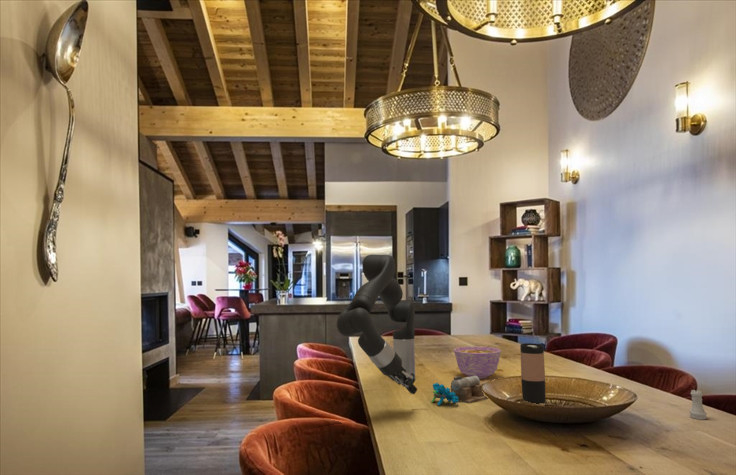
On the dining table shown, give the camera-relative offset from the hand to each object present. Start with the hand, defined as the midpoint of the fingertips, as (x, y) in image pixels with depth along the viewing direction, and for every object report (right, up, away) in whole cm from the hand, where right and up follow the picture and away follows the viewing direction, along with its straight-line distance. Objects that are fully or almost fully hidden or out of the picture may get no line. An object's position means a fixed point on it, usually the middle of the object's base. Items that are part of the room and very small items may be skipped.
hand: (414, 391), depth 154 cm
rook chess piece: (+85, -4, -11) cm, 86 cm away
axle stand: (+20, -7, +14) cm, 26 cm away
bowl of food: (+32, -10, +50) cm, 61 cm away
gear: (+11, -7, +8) cm, 15 cm away
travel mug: (+41, -6, +5) cm, 42 cm away
